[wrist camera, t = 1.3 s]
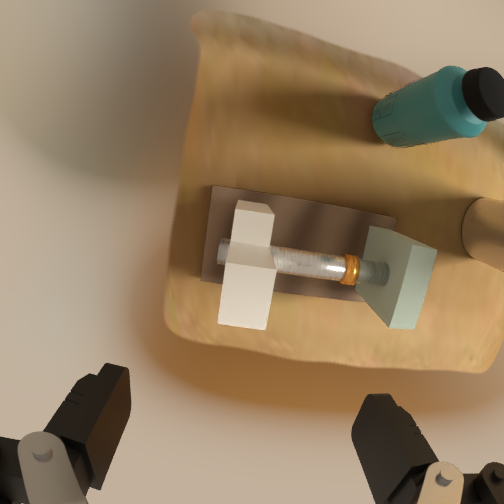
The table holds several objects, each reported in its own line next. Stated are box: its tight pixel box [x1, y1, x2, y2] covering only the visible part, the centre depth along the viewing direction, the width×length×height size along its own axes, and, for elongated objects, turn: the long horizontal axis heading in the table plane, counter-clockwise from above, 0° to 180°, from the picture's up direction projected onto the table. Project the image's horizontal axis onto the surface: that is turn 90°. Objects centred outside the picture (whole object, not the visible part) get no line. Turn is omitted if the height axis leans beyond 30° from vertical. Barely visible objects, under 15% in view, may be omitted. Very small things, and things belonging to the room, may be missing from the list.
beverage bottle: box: [372, 66, 504, 148], centre depth 24 cm, size 6×7×20 cm
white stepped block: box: [218, 200, 277, 330], centre depth 26 cm, size 3×9×15 cm, turn 171°
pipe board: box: [201, 185, 397, 302], centre depth 36 cm, size 22×11×2 cm, turn 81°
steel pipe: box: [217, 238, 390, 287], centre depth 29 cm, size 18×3×3 cm, turn 81°
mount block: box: [355, 226, 438, 329], centre depth 31 cm, size 3×8×10 cm, turn 171°
